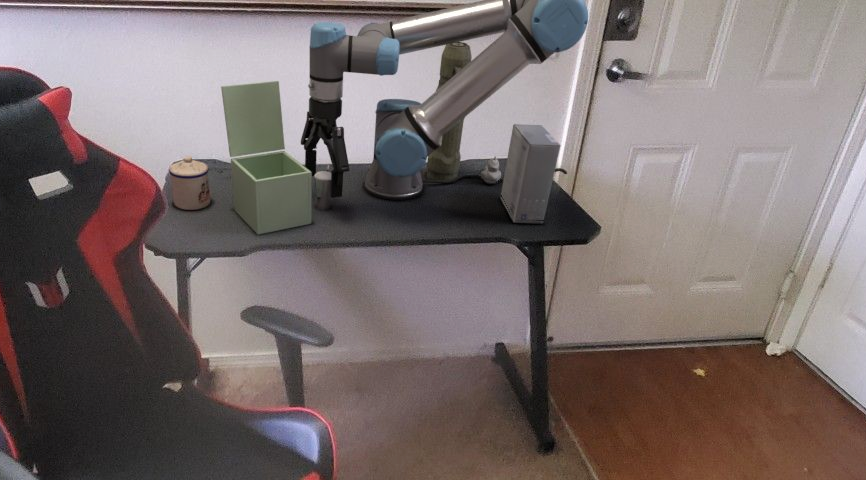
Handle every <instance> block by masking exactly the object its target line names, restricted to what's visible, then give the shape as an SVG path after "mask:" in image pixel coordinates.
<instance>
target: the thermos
mask: <svg viewBox="0 0 866 480" xmlns="http://www.w3.org/2000/svg"><path fill="white" fill-rule="evenodd" d="M472 58H473V57H472V50H471V46H470V44H468V43H466V42H464V41H461V42H456V43H451V44H447V45H444V48H443V51H442V54H441V58H440V67H439V79H438V84H437V87H436V89H435V92H436V91H437V90H438V89H439V88H441V87H442V86H443V85H444V84H445V83H446V82H448V81H449V80H450V79H451V78H452V77H453V76H455V75H456V74H457V73H458V72H459V71H460V70H461V69H463V68H464V67H465V66H466V65H467V64H468V63H470V62H471V61H472V60H473V59H472ZM464 120H465V118H463V119H462V120H461V121H460V122H458V123H457V124H456V125H455V126H454V127H452V128H451V129H450V130H449V131H448V132H446V133H445V134H444V135H443V137H442V142H441V146H440V147H438V148H437V149H436V150H435V151H434V152H432V153H431V154H430V155H429V156H427V160H426V169H427V170H426V178H427V180H451V179H454V178H456V177H457V176H459V173H458V172H459V171H460V166H461V159H462V158H461V157H462V155H461V151H460V150H461V143H462V136H463V128H464Z"/></svg>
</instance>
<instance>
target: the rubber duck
mask: <svg viewBox="0 0 866 480" xmlns="http://www.w3.org/2000/svg"><path fill="white" fill-rule="evenodd" d="M480 175H481V177H482V178H483V179H485V180H489V181H498V180H499V179H500V178H502V172H501V171H500V162H499V160H498V158H497V156H496V155H494V157H493V158H490V159H489V160H488V161H487V165H485V166H484V170H481V172H480ZM482 178H481V179H482ZM483 179H482V180H483ZM484 182H485V183H486V184H488V185H497V184H498V183H499V182H497V183H489V182H486V181H484Z"/></svg>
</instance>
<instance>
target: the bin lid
mask: <svg viewBox="0 0 866 480" xmlns="http://www.w3.org/2000/svg"><path fill="white" fill-rule="evenodd" d="M220 89H221V97H222V104H223V112H224V113H223V114H224V119H225V120H224V122H225V130H226V136H227V137H226V138H227V144H228V154H229V157H230V158H236V157H243V156H248V155H249V156H250V155H256V154H263V153H270V152H277V151H284V150H286V148H285V136H284V135H285V134H284V123H283V112H282V103H281V91H280V82H279V80H274V81H272V80H271V81H263V82H252V83H241V84H233V85H222V86H221V85H220Z"/></svg>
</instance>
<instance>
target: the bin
mask: <svg viewBox="0 0 866 480" xmlns="http://www.w3.org/2000/svg"><path fill="white" fill-rule="evenodd" d="M230 169H231V186H232V200H233V201H232V202H233V210H234V211H235V212H236V213H237V215H239V217H241V218H242V220H243V221H244V222H245V223H246V224H247V225H248V226H249V227H250V228H251V230H253V231H254V232H255V233H256V234H257V235H263V234H267V233H272V232H277V231H283V230H286V229H291V228H292V229H293V228H297V227H301V226H307V225H310V224H312V185H313V183H312V182H313V181H312V177H313V176H312V172H311V171H309V170H308V169H307V168H306V167H305V165H304V164H302V163H301V162H299V161H298V160H297V159H295V157H293V156H291V155H290V154H289V153H288V152H286V151H285V150H279V151H272V152H266V153H259V154H252V155H249V156H248V155H245V156H239V157H232V158H230Z"/></svg>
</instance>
